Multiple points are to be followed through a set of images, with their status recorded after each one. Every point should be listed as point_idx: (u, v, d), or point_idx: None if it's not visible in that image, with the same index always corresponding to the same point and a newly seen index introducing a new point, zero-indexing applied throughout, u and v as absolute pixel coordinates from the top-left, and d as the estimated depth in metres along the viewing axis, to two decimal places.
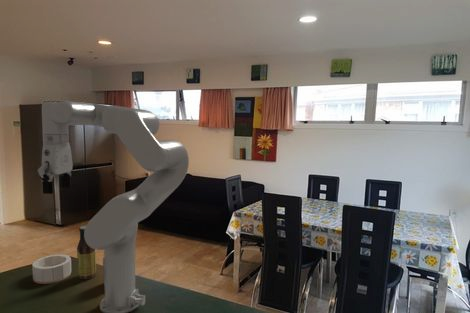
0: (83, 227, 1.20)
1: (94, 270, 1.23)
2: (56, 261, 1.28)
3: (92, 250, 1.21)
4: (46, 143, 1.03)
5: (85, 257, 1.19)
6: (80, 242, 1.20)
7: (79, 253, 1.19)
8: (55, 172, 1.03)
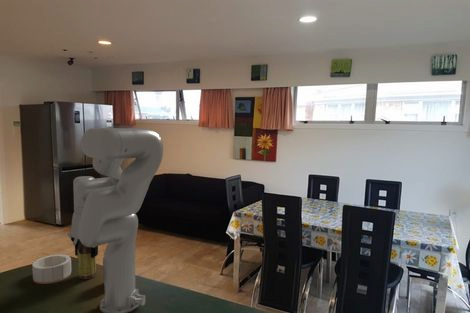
0: None
1: (94, 270, 1.23)
2: (56, 261, 1.28)
3: None
4: None
5: (85, 257, 1.19)
6: (80, 242, 1.20)
7: (79, 253, 1.19)
8: None
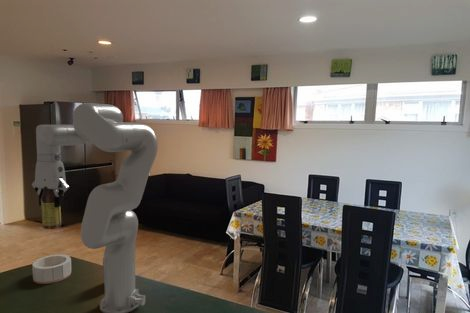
0: None
1: (59, 221, 1.21)
2: (56, 261, 1.28)
3: None
4: (55, 161, 1.17)
5: (48, 206, 1.18)
6: (43, 191, 1.18)
7: (42, 202, 1.17)
8: None
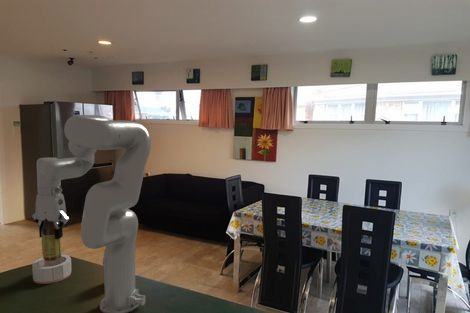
0: None
1: (59, 252, 1.22)
2: (56, 261, 1.28)
3: None
4: (55, 194, 1.18)
5: (49, 238, 1.19)
6: (44, 223, 1.19)
7: (43, 234, 1.19)
8: None
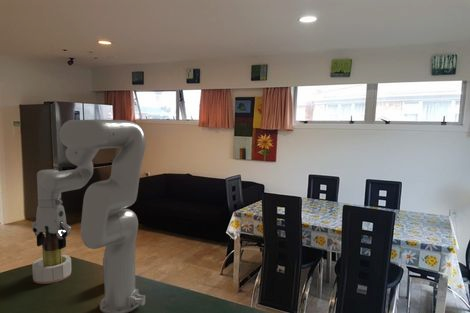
0: None
1: None
2: None
3: (57, 247, 1.21)
4: (56, 206, 1.19)
5: (50, 254, 1.19)
6: (45, 239, 1.20)
7: (44, 250, 1.19)
8: None
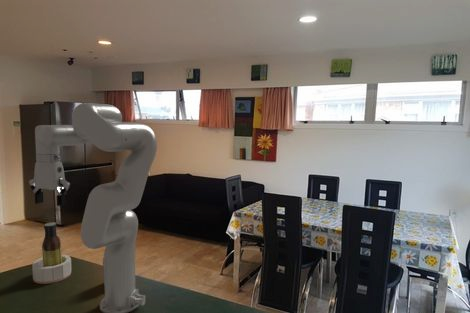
0: (48, 224, 1.20)
1: None
2: None
3: (57, 247, 1.21)
4: (54, 162, 1.17)
5: (50, 254, 1.19)
6: (45, 239, 1.20)
7: (44, 250, 1.19)
8: None
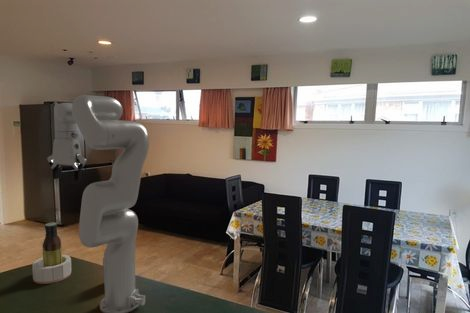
0: (49, 224, 1.20)
1: None
2: None
3: (58, 247, 1.21)
4: (72, 139, 1.24)
5: (50, 254, 1.19)
6: (45, 239, 1.20)
7: (44, 250, 1.19)
8: None
